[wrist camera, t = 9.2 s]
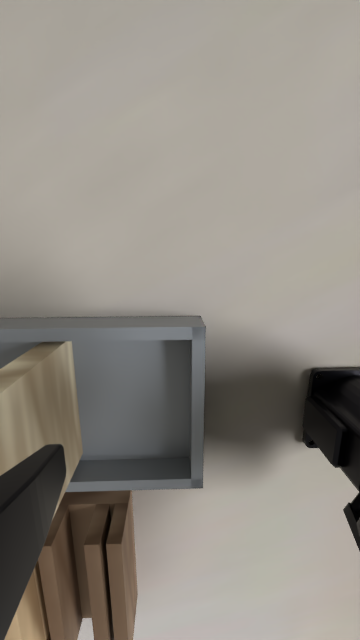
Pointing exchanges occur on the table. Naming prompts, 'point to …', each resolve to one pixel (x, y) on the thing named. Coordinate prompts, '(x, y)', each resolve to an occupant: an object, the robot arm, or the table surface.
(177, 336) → the gray tray
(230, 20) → the table surface
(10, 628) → the upper oak offcut
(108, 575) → the walnut rack
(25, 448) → the birch sheet
